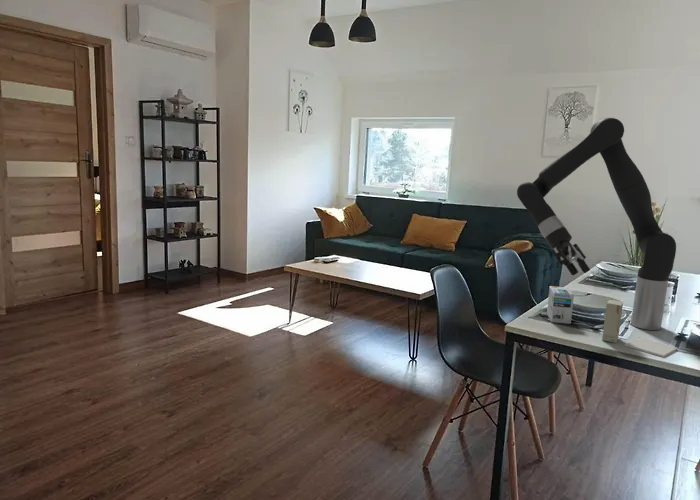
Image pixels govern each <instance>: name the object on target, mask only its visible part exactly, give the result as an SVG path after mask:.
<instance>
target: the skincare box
mask: <svg viewBox="0 0 700 500" xmlns="http://www.w3.org/2000/svg"><path fill="white" fill-rule="evenodd" d="M623 305H624V302H623V301H618V300H613V299H608V301H607V302H606V306H605V307H606V308H605V315H604V323H603V331H602V337H601V340H602V341H605V342H610V343H618V340H619V335H620V327H621V320H622V313H623Z"/></svg>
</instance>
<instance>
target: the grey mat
mask: <svg viewBox="0 0 700 500" xmlns="http://www.w3.org/2000/svg"><path fill="white" fill-rule="evenodd" d="M624 347H627V348H630V349H633V350H637V351H640V352H644V353H648V354H651V355H653V356H657V357H662V358H665V357H667V356H668V355H670V354H672V353H674V352H676V351H678V347H676V346H672V345H669V344H665V343H661V342H658V341H654V340H652V339H647V338H643V337H637V338H636V339H633V340H631V341H629V342H627V343H624Z"/></svg>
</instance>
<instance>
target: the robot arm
mask: <svg viewBox="0 0 700 500" xmlns="http://www.w3.org/2000/svg"><path fill="white" fill-rule="evenodd" d="M624 133H625V126H624V123H623V122H622V121H621V120H619V119H617V118H616V117H604V118H600V119H598V120H596V121H595V122H594V123H593V124H592V126H591V128H590V133H589V134H588V135H586V137H585V138H584V139H583V140H581V142H579V143H578V144H576V146H574V147H573V148H571V149H569V150H568V151H566V152H565V153H563V154H562V155H560V156H559V157H558V158H556V159H555V160H553V161H552V162H551V163H550V164H548V165H547V166H546V167H545V168H544V169H542V170H541V171H540V172H539V174H538V177H537V178H536V179H535V180H534V181H533V182H530V181H525V182H522V183H520V184H519V186H517V188H516V189H517V190H516V195H517V198H518V199H519V201H520V202H521V204H522V205H523V206H524V208H525V209H526V210H527V211H528V213H529V214H530V216H531V218H532V219H533V222H534V223H535V224H536V226H537V227H538V230H539V232H540V234H541V235H542V236H543V238H544V239H545V241H546V242H547V244H548V245H549V248H550V249H551V252H552V253H553V255H554V256H555V258H556V260H557V261H558V263H559V265H561V266H562V265H563V266H564V267H566V268H567V270H568V272H569V273H570V274H571V276H575V275H577V274H578V273H579V270H578V268H577V267H576V266H575V265H574V263H573V262H572V261H574V262H576V263H577V264H578V267H579V268H580V270H581V271H582V273H584V274H586V273H588V272H590V270H591V268H590V267H589V266H588V264H587V263H586V261H585V259H586V258H587V257H586V255H585V254H584V253H583V251H582V249H581V247H580V246H579V245H578V244H577V243H574V244H572V242H570V241H571V240H572V239H573V237H572V235H571V234H570V232H569V231H568V229H567V227H565V224H564V223H563V222H562V220H561V219H560V218H559V217H558V215H557V214H556V213H555V212H554V210H553V209H552V207H551V206H550V205H549V204H548V203H547V201H546V200H545V197H546V196H547V195H548V194H549V193H550V191H552V189H553V188H555V187H556V186H557V185H559V184H560V183H561V182H562V181H564V179H566V178H568V176H570V175H571V174H572V173H574V172H575V171H576V170H578V168H580V167H581V166H582V165H584V163H586V162H587V161H589V160H590V159H592V158H593V157H595V156H596V155H598V154H600V156H601V157H602V159H603V162H604V163H605V166H606V169H607V172H608V175H609V177H610V180H611V183H612V185H613V188H614V191H615V193H616V195H617V197H618V200H619V202H620V204H621V205H622V207H623V210H624V211H625V214H626V215H627V217H628V219H629V221H630V223H631V225H632V228H633V231H634V234H635V237H636V240H637V245H638V247H639V249H640V251H641V252H642V253H643V254H644V256H643V257H644V258H643V261H642V262H643V263H642V265H641V266H640V267H639V268H638V271H637V277H636V286H635V290H634V299H633V307H632V312H631V320H630V325H632V326H633V327H635V328H638V329H643V330H648V331H659V330H661V329H662V324H663V317H664V310H665V303H666V298H667V297H666V296H667V291H668V286H669V285H668V284H669V280H670V279H669V278H670V275H671V273H672V272H673V268H674V263H675V259H676V255H677V243H676V240H675V238H674V237H673V236H672V235H670V234H669V233H666V232H664V231H663V230H662V229H661V227H660V225H659V224H658V222H657V220H656V218H655V214H654V212H653V203H652V195H651V193H650V190H649V187H648V185H647V182H646V180H645V178H644V176H643V174H642V171H640V170H639V168H638V166H637V165H636V164H635V162H634V161H633V160H632V158H631V156H629V154H628V153H627V150H626V148H625V145H624V142H623V139H622V138H623V137H624Z"/></svg>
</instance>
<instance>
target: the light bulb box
mask: <svg viewBox="0 0 700 500" xmlns="http://www.w3.org/2000/svg"><path fill="white" fill-rule="evenodd" d="M548 287H549V288H548V299H547V310H546V315H547V317H548V319H549V320H550V322H551V323H557V324H569V325H571V323H572V317H573V316H572V315H573V307H574V306H573V305H574V298H575V294H574V293H573V292H572V291H571V289H570V288H569V287H565V286H563V287H562V286H555V285H554V286H553V285H550V286H548Z"/></svg>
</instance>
